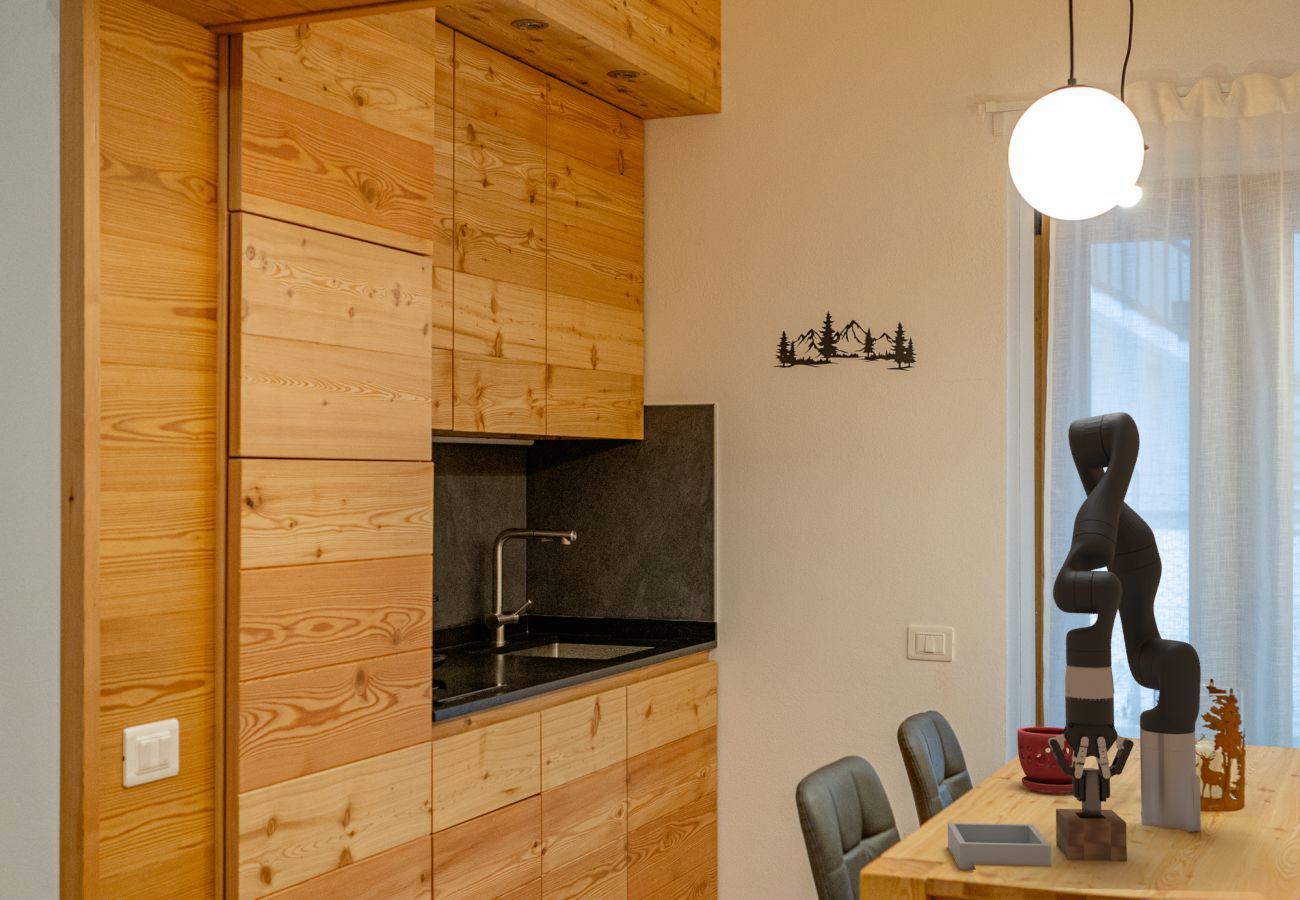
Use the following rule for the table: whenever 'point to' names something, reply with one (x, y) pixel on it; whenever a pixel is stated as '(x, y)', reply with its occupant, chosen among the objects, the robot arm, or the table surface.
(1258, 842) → the table surface
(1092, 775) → the pin
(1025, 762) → the plant pot
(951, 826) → the tray
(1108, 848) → the pin block
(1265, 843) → the table surface
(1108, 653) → the robot arm
